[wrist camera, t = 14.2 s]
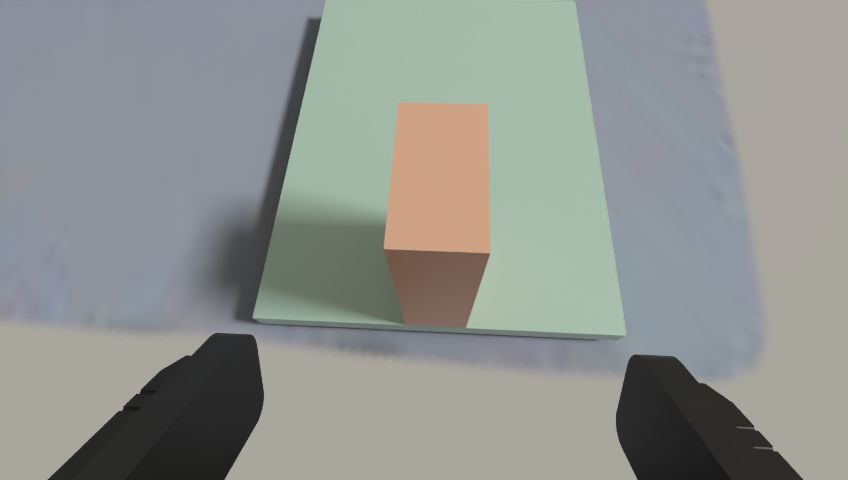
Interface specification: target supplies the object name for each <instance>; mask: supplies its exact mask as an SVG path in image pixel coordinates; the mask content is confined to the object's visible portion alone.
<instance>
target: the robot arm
mask: <svg viewBox="0 0 848 480" xmlns="http://www.w3.org/2000/svg"><path fill="white" fill-rule="evenodd" d="M263 401H264V391H263V384H262V377H261V370H260V363H259V356H258V349H257V343H256V340H255V338H254V336H253V335H248V334H228V333H215V334H213V335H212V336H210V337H209V338H208V339H207V340H206V341H205V342H204V344H203V345H202V346H201V347H200V348H199V349H198V350H197V351H196V352H195V353H194V354H193V355H192V356H185V357H183V358H181V359H180V360H178V361H176V362H175V363H173V364H171V365H169V366H168V367H166V368H164V369H163V370H161V371H160V372H159V373H158V374H157V375H156V376H155V377H154V378H152V379H151V380H150V381H149V382H148V383H147V384H146V385H145V386H144V387H143V388H142V389H141V392H140V394H136V395H135V396H134V397H133V398H132V399H131V400H130V401H129V402H128V403H127V404H126V405H125V406H124V408H123V410H122V411H118V412H117V413H116V414H115V415H114V416H113V417H112V418H111V419H110V420H109V421H108V422H107V423H106V424H105V425H104V426H103V427H102V428H101V429H100V430H99V431H98V432H97V433H96V434H95V435H94V436H92V437H91V438H90V439H89V440H88V441H87V442H86V443H85V444H84V445H83V446H82V447H81V448H80V449H79V450H78V451H77V452H76V453H75V454H74V455H73V456H72V457H71V458H70V459H69V460H68V461H67V462H66V463H65V464H64V465H63V466H61V467H60V468H59V469H58V470H57V471H56V472H55V473H54V474H53V475H52V476H51V477H50V478H49V479H48V480H224V479H225V478H226V476H227V474H228V472H229V470H230V469H231V467H232V465H233V463H234V462H235V460H236V459H237V457H238V455H239V453H240V452H241V450H242V448H243V446H244V445H245V443H246V441H247V440H248V438H249V436H250V434H251V433H252V431H253V429H254V427H255V426H256V424H257V422H258V420H259V417H260V415H261V411H262V407H263ZM616 428H617V434H618V438H619V441H620V444H621V447H622V449H623V451H624V453H625V455H626V457H627V459H628V461H629V463H630V465H631V467H632V469H633V471H634V473H635V475H636V477H637V479H638V480H803V479H802V478H801V477H800V476H799V475H798V473H797V472H796V471H795V470H794V469H793V468H792V467H791V466H790V465H789V464H788V462H787V461H786V460H785V459H784V458H783V457H782V456H781V455H780V454H779V453H778V452H776V451H773V448H772V445H771V444H770V443H769V442H768V441H767V440H766V439H765V437H764V436H763V435H762V434H761V433H760V432H759V431H755V429H754V425H753V424H751V422H750V421H749V420H748V419H747V418H746V417H745V416H744V414H742V412H741V411H740V410H739V409H738V408H737V407H736V406H735V405H734V404H733V403H732V402H731V401H729V400H728V399H726V398H725V397H724V396H722V395H721V394H719V393H718V392H716V391H715V390H713V389H712V388H711V387H709V386H708V385H706V384H703V383H698V382H697V381H696V379H695V378H694V377H693V376H692V375H691V374H690V372H689V371H688V370H687V369H686V368H685V367H684V365H683V364H682V363H681V362H680V361H679V360H678V359H677V358H675V357H673V356H655V355H633V356H632V357H631V358H630V359H629V362H628V365H627V369H626V374H625V378H624V382H623V387H622V391H621V396H620V400H619V404H618V409H617V413H616Z"/></svg>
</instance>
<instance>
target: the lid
mask: <svg viewBox="0 0 848 480" xmlns="http://www.w3.org/2000/svg"><path fill="white" fill-rule="evenodd" d="M252 318H253V319H255V320H257V321H258V322H260V323H264V324H285V325H306V326H327V327H348V328H368V329H389V330H410V331H431V332H452V333H473V334H494V335H515V336H535V337H556V338H577V339H598V340H618V339H621V338H623V337H625V336H627V335H626V328H625V322H624V315H623V309H622V302H621V296H620V289H619V283H618V276H617V270H616V263H615V257H614V250H613V244H612V238H611V231H610V225H609V218H608V212H607V205H606V199H605V192H604V186H603V179H602V173H601V166H600V160H599V153H598V147H597V140H596V134H595V127H594V121H593V114H592V108H591V101H590V95H589V89H588V82H587V76H586V69H585V63H584V56H583V50H582V43H581V37H580V30H579V24H578V17H577V11H576V4H575V1H555V0H326V2H325V6H324V11H323V15H322V19H321V24H320V28H319V32H318V37H317V41H316V45H315V49H314V54H313V58H312V62H311V67H310V71H309V75H308V80H307V84H306V88H305V93H304V97H303V101H302V106H301V110H300V114H299V119H298V123H297V127H296V132H295V136H294V140H293V145H292V149H291V153H290V157H289V162H288V166H287V170H286V175H285V179H284V183H283V188H282V192H281V196H280V201H279V205H278V209H277V214H276V218H275V222H274V227H273V231H272V235H271V240H270V244H269V248H268V253H267V257H266V261H265V266H264V270H263V274H262V278H261V283H260V287H259V291H258V296H257V300H256V304H255V309H254V313H253V317H252Z"/></svg>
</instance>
